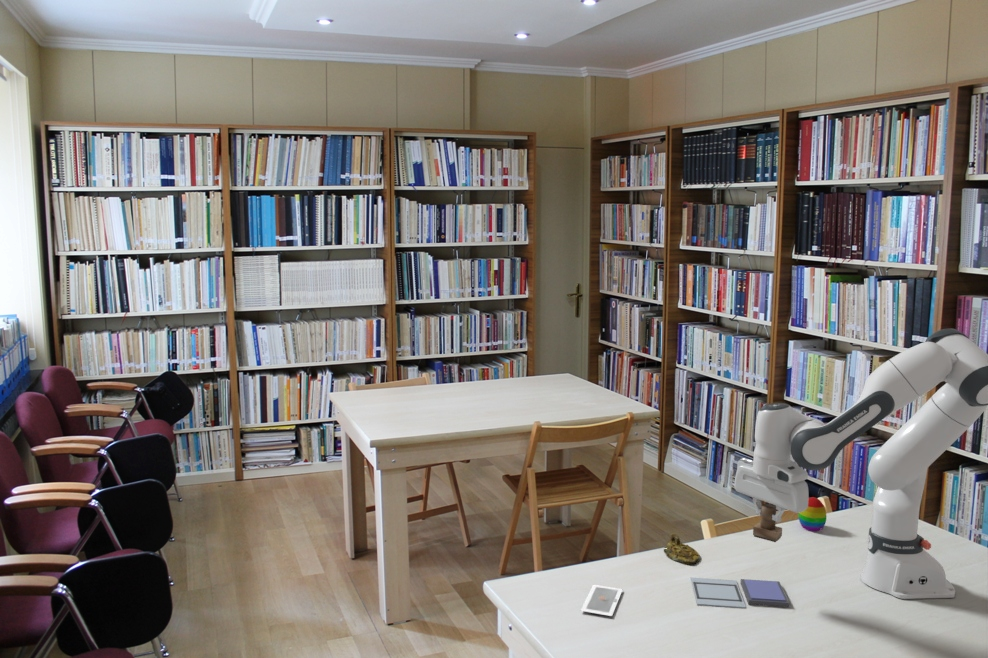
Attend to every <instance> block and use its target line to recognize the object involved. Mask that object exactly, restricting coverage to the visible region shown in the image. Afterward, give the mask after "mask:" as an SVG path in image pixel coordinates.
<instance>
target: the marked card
mask: <svg viewBox="0 0 988 658" xmlns="http://www.w3.org/2000/svg"><path fill="white" fill-rule="evenodd" d="M690 582H691V586H692V591H693V594H694V598H695V603H696V606H706V607H707V606H708V607H720V608H721V607H722V608H734V609H735V608H737V609H747V606H746V604H745V602H744V601H745V600H744V598H743V596H742V593H741V591H740V588H739V585H738V583H737V580H736V579H722V578H721V579H719V578H704V577H692V576H691V577H690Z"/></svg>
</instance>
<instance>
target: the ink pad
mask: <svg viewBox="0 0 988 658" xmlns="http://www.w3.org/2000/svg"><path fill="white" fill-rule="evenodd" d="M739 582H740V585H741V589H742V592H743V594H744V597H745V598H746V602H747V604H748V605H749V606H763V607H764V606H765V607H778V608H779V607H780V608H790V601H789V599H788V596H787V595H786V593H785V591H784V588H783V585H782V584H781V582H780V581H776V580H762V579H761V580H759V579H758V580H757V579H745V578H744V579H743V578H740V581H739Z"/></svg>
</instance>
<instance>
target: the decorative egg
mask: <svg viewBox="0 0 988 658" xmlns="http://www.w3.org/2000/svg"><path fill="white" fill-rule="evenodd" d="M798 520H799V521H798V522H799V524H800V526H801V527H802V528H803V529H805V530H806V531H807V530H808V531H811V532H818V531H821V530H822V529H823V528H824V527H825V525H826V522H827V512H826V508H825V505H824V504H823V502H822V501H821V499H819V498H818V497H814V496H812V497H809V499H808V508H807V509H806V510H805V511H803V512H800V513H798Z"/></svg>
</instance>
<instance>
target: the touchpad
mask: <svg viewBox="0 0 988 658" xmlns="http://www.w3.org/2000/svg"><path fill="white" fill-rule="evenodd" d="M623 591H624V589H622V588H617V587H612V586H605V585H598V584H592V586H591V589H590V590H589V592H588V595H587V596H586V598H585V600H584V602H583V604H582V607H581V609H580V612H586V613H590V614H591V613H592V614H597V615H602V616H609V617H612V616H613V614H614V612H615V609H616V607H617V605H618V602H619V599H620V597H621V594H622V593H623Z"/></svg>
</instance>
